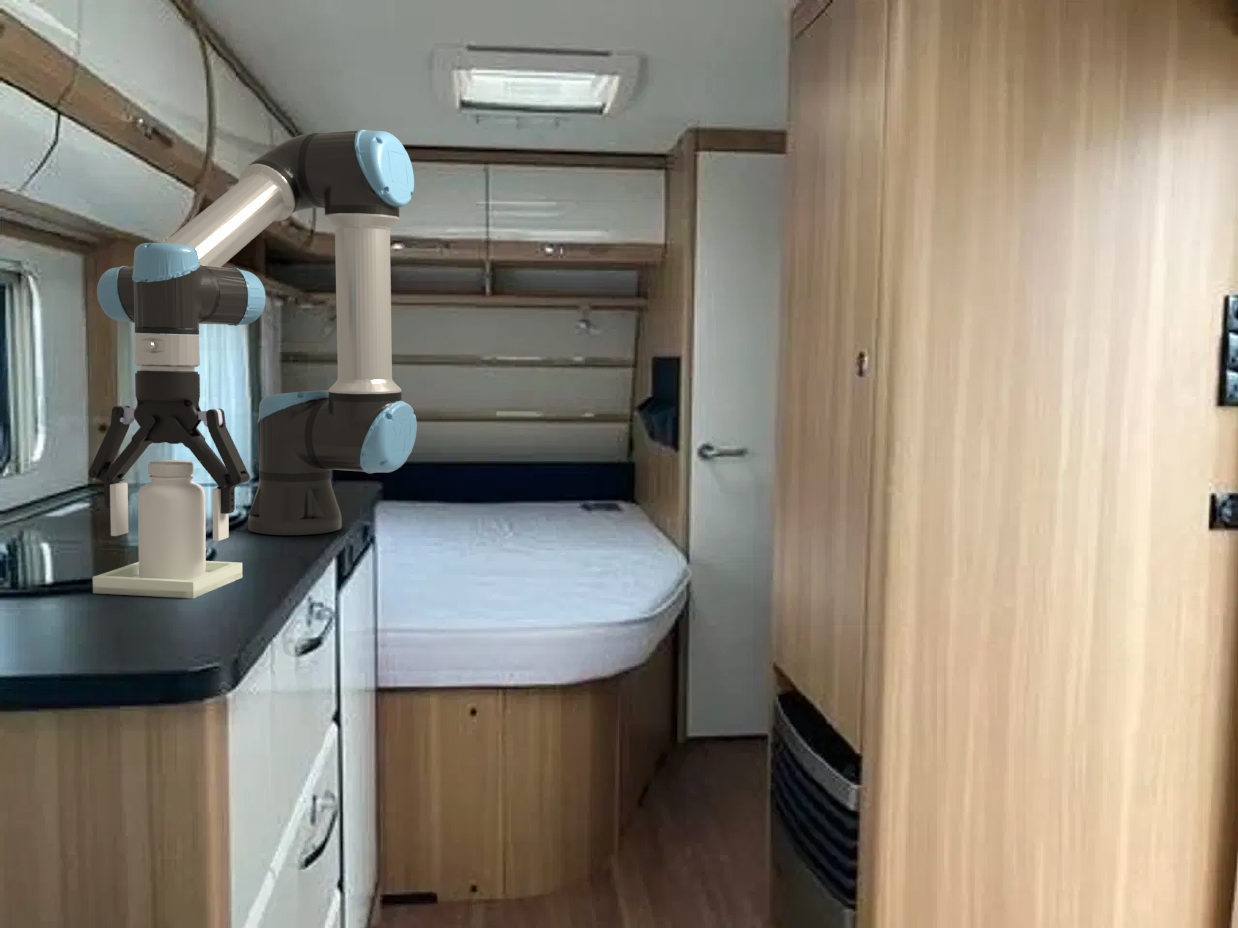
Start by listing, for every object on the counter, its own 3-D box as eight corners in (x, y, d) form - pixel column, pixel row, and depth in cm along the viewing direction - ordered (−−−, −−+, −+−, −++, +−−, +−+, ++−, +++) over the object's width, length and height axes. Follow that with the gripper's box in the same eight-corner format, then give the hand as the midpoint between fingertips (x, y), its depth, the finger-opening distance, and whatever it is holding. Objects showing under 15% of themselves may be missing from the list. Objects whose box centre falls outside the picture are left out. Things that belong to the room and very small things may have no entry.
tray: (150, 572, 148) (149, 557, 148) (242, 577, 147) (242, 562, 147) (93, 592, 136) (92, 576, 135) (193, 598, 134) (193, 582, 134)
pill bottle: (152, 587, 136) (149, 466, 134) (130, 577, 142) (127, 460, 140) (216, 580, 141) (214, 463, 139) (192, 570, 147) (190, 457, 145)
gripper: (56, 366, 136) (60, 536, 138) (249, 372, 133) (250, 546, 136) (92, 366, 144) (95, 527, 146) (275, 371, 141) (276, 536, 143)
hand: (170, 536), depth 141 cm, fingers open, 13 cm apart
